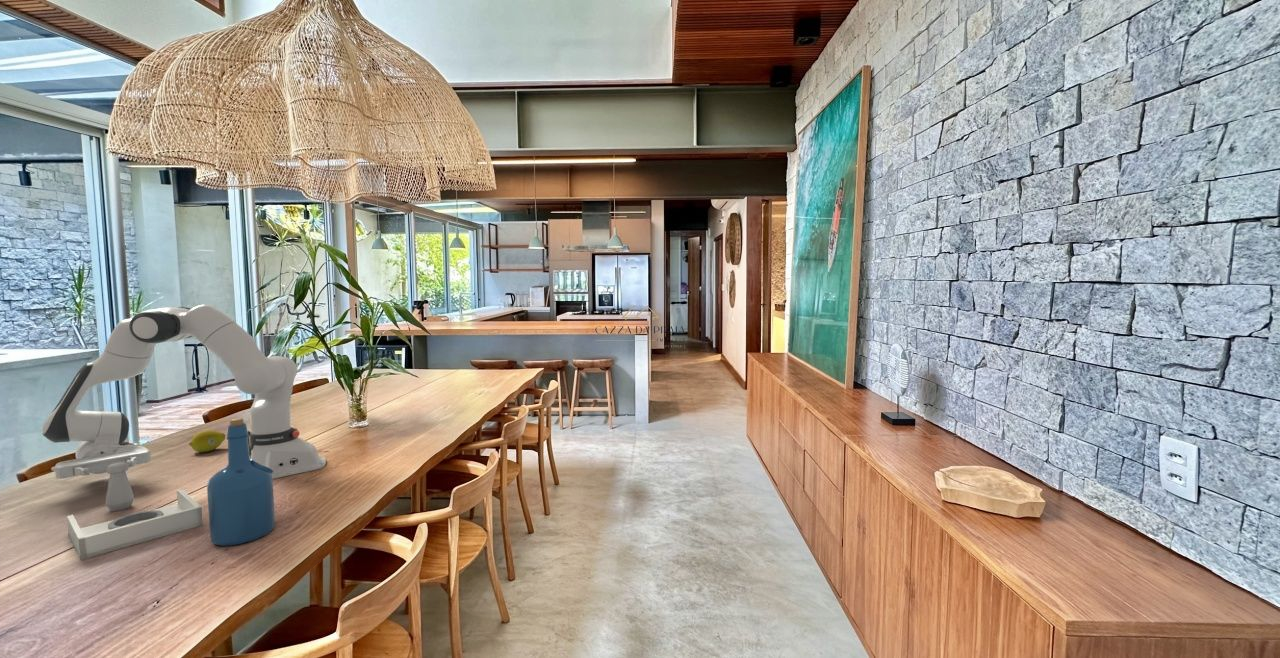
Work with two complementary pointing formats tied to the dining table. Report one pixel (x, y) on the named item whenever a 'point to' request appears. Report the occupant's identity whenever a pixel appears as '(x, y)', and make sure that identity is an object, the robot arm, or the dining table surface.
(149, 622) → the dining table surface
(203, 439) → the lemon
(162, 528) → the box
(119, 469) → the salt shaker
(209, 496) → the wine bottle
